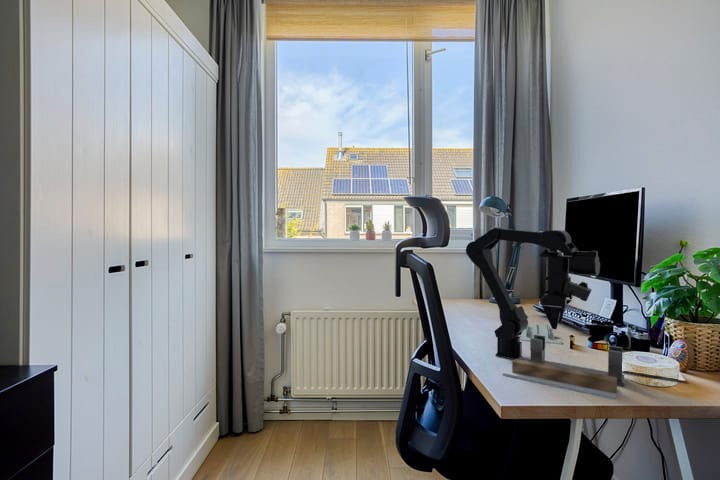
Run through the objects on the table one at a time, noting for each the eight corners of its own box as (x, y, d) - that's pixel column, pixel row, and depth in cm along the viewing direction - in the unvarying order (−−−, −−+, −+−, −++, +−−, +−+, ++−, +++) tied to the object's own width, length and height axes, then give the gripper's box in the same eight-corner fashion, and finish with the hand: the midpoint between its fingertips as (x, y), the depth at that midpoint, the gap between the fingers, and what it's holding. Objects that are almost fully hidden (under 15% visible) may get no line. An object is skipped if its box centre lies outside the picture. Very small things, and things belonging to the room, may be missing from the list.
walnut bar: (512, 372, 106) (512, 361, 106) (514, 369, 108) (514, 358, 108) (616, 393, 92) (616, 381, 92) (616, 389, 94) (616, 377, 94)
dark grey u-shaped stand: (527, 368, 111) (528, 339, 111) (532, 361, 116) (533, 333, 116) (624, 386, 98) (624, 353, 97) (624, 378, 103) (624, 347, 103)
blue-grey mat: (502, 375, 105) (502, 372, 105) (509, 367, 111) (509, 365, 111) (616, 399, 90) (616, 396, 90) (616, 389, 96) (616, 386, 96)
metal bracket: (515, 318, 151) (557, 321, 146) (515, 331, 153) (556, 335, 148) (516, 337, 139) (562, 341, 133) (516, 351, 140) (561, 355, 135)
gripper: (586, 277, 100) (585, 337, 100) (592, 272, 115) (591, 323, 115) (540, 275, 106) (539, 330, 106) (551, 269, 121) (550, 318, 121)
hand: (556, 325), depth 112 cm, fingers open, 9 cm apart
